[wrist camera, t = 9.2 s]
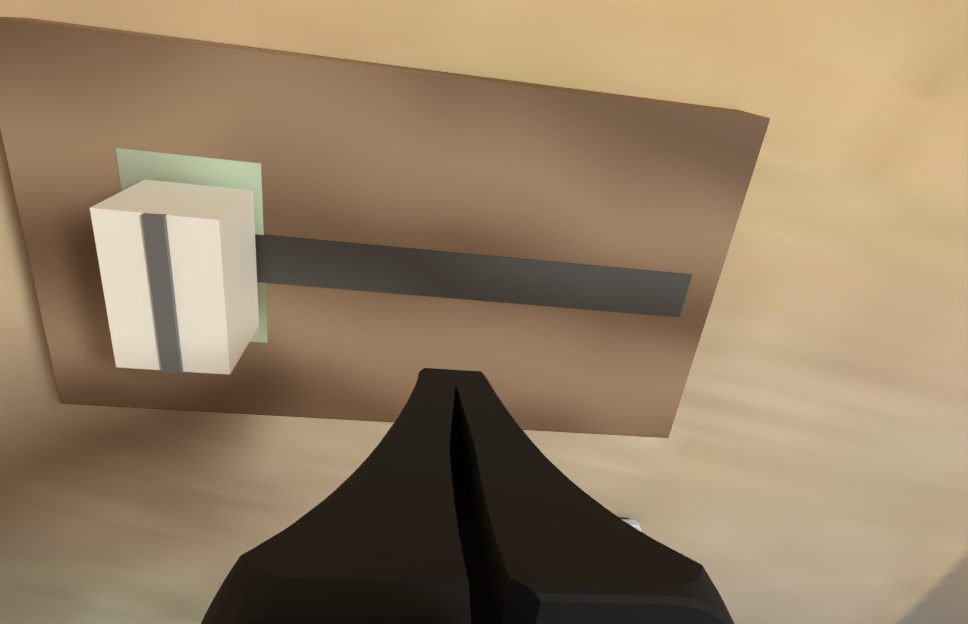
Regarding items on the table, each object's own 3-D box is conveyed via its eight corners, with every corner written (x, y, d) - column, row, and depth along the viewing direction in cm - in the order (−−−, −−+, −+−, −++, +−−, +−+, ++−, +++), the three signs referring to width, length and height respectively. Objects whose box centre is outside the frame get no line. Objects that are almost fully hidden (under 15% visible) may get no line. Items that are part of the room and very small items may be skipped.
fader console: (651, 408, 25) (668, 438, 23) (91, 372, 22) (59, 404, 20) (739, 110, 19) (770, 118, 18) (24, 17, 17) (-26, 16, 15)
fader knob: (258, 326, 19) (228, 377, 16) (162, 318, 19) (113, 370, 16) (252, 190, 17) (217, 221, 14) (144, 179, 17) (86, 209, 14)
